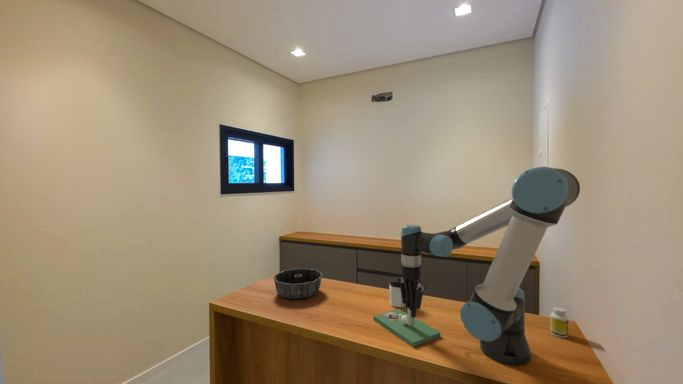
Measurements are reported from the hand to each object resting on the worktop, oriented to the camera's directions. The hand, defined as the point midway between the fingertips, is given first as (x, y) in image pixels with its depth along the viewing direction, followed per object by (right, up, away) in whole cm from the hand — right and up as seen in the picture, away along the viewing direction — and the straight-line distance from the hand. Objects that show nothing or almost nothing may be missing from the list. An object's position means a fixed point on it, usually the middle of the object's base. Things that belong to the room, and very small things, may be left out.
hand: (411, 323), depth 110 cm
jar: (0, -3, +26) cm, 26 cm away
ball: (-2, 0, +3) cm, 3 cm away
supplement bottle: (+56, -3, -3) cm, 56 cm away
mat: (-2, -3, +3) cm, 5 cm away
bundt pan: (-51, -4, +42) cm, 66 cm away
